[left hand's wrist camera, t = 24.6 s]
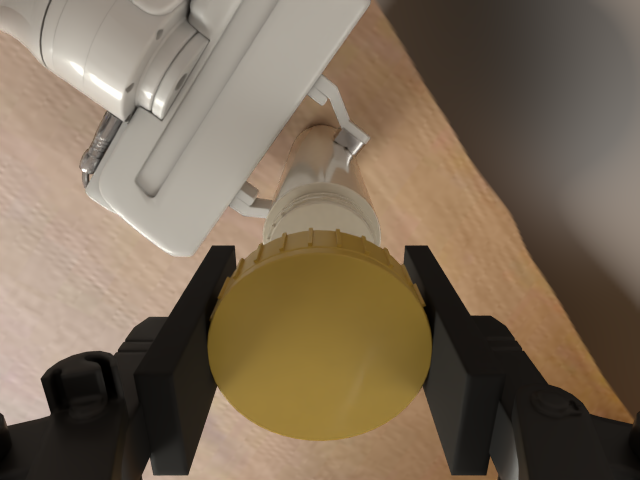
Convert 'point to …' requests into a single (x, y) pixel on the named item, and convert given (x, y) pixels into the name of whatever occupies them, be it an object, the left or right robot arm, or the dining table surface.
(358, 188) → the jar
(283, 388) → the lid
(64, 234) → the dining table surface
